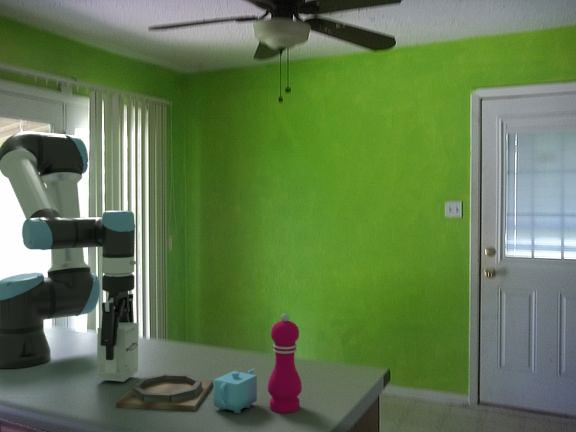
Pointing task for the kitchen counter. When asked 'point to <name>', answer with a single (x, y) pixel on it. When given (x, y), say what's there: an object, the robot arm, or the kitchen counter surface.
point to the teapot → (235, 391)
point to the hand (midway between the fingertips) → (118, 367)
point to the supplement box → (120, 353)
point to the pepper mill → (284, 367)
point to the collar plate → (166, 392)
